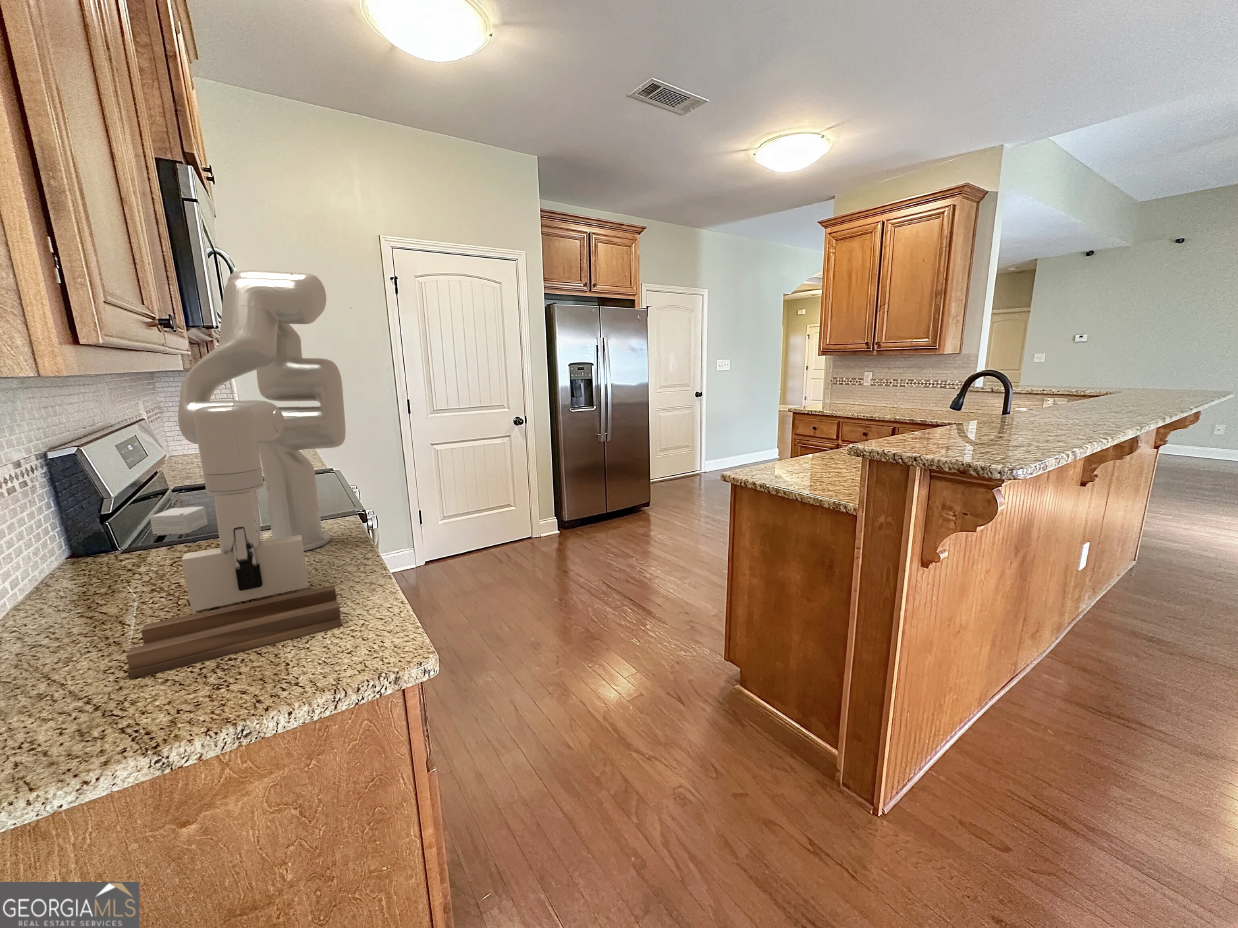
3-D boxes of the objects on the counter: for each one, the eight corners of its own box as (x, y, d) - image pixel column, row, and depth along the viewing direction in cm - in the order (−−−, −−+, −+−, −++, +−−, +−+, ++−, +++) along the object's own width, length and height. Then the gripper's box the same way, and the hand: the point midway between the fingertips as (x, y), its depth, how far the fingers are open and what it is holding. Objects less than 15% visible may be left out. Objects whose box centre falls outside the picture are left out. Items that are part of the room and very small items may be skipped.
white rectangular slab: (194, 604, 81) (184, 553, 79) (307, 580, 89) (301, 534, 88) (191, 611, 78) (181, 559, 76) (308, 586, 87) (301, 539, 85)
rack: (149, 640, 72) (145, 622, 71) (336, 599, 85) (334, 583, 84) (129, 679, 63) (124, 658, 62) (341, 625, 76) (339, 608, 75)
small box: (174, 526, 126) (171, 507, 125) (208, 524, 127) (205, 505, 126) (152, 536, 118) (148, 516, 118) (188, 534, 120) (185, 514, 119)
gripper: (211, 474, 84) (228, 572, 88) (197, 495, 71) (218, 609, 75) (264, 469, 88) (279, 563, 92) (260, 488, 75) (277, 597, 79)
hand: (251, 583), depth 83 cm, fingers closed on white rectangular slab, 3 cm apart
